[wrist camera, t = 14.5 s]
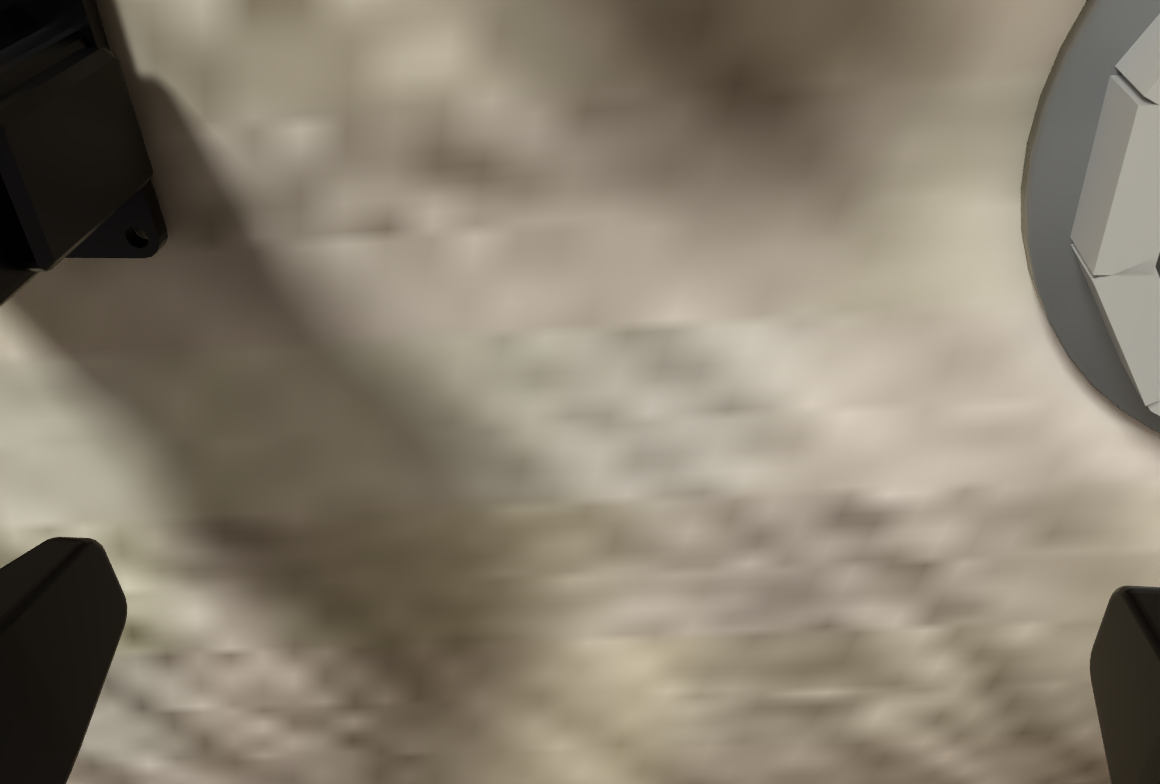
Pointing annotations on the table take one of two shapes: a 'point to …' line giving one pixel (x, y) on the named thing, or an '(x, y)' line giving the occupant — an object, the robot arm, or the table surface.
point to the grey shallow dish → (1101, 201)
